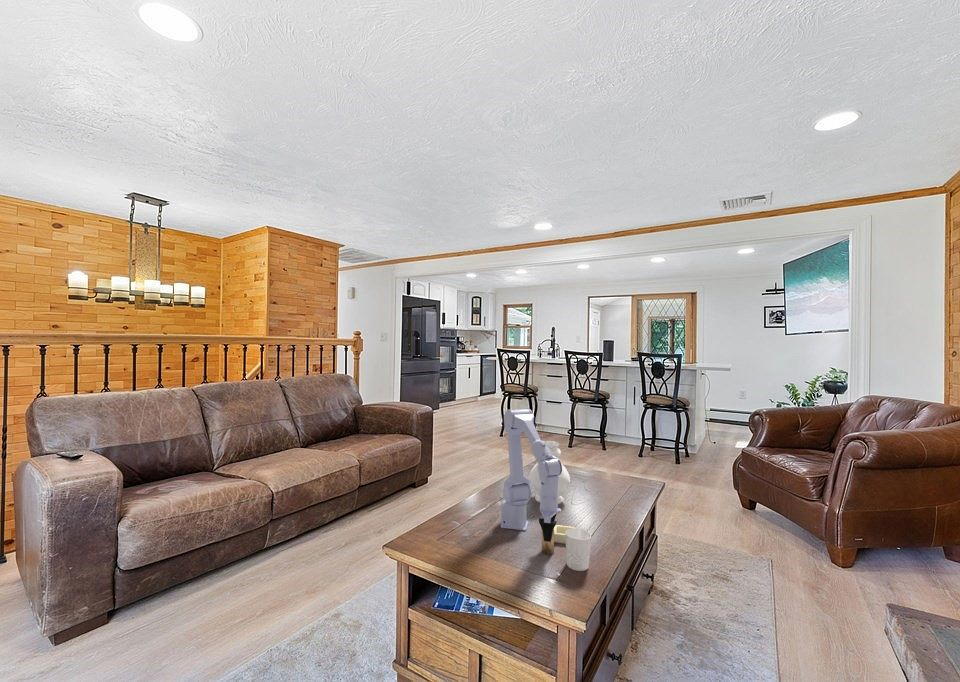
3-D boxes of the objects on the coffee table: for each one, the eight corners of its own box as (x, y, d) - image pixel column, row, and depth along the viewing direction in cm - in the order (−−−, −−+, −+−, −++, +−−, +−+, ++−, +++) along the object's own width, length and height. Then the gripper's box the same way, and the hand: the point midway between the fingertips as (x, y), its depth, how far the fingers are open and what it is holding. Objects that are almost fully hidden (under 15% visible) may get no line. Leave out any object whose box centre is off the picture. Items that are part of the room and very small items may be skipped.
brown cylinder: (541, 553, 142) (541, 532, 142) (542, 548, 145) (542, 527, 145) (553, 555, 141) (554, 534, 141) (554, 549, 145) (554, 528, 145)
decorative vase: (573, 507, 181) (574, 448, 181) (530, 506, 182) (532, 447, 182) (565, 492, 199) (566, 438, 199) (527, 491, 200) (528, 437, 199)
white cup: (586, 559, 139) (587, 528, 139) (593, 572, 131) (594, 539, 131) (562, 559, 138) (563, 528, 138) (568, 572, 130) (568, 539, 130)
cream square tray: (552, 542, 150) (553, 533, 150) (554, 532, 157) (554, 524, 157) (574, 544, 148) (575, 536, 148) (575, 535, 155) (575, 527, 155)
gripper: (560, 504, 135) (559, 547, 135) (562, 489, 149) (561, 528, 149) (537, 501, 137) (537, 544, 137) (541, 487, 151) (541, 525, 151)
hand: (548, 535), depth 143 cm, fingers open, 7 cm apart
